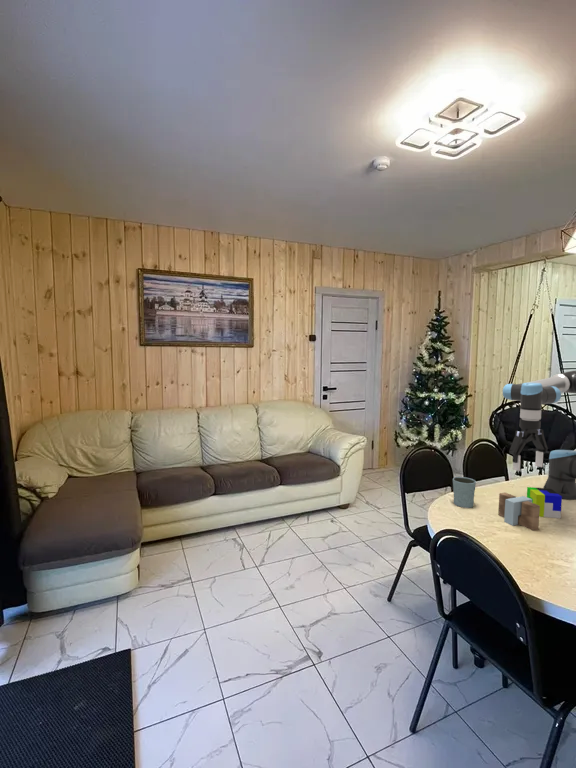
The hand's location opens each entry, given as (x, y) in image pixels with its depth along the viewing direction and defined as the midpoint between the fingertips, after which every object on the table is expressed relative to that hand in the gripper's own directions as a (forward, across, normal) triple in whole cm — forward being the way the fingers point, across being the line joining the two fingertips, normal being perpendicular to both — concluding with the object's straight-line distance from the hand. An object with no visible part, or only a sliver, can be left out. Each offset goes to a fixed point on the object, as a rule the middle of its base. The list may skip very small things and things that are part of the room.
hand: (527, 468), depth 162 cm
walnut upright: (+23, +4, 0) cm, 24 cm away
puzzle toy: (+24, -16, -4) cm, 29 cm away
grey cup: (+23, +11, -23) cm, 35 cm away
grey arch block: (+23, +4, 0) cm, 24 cm away
